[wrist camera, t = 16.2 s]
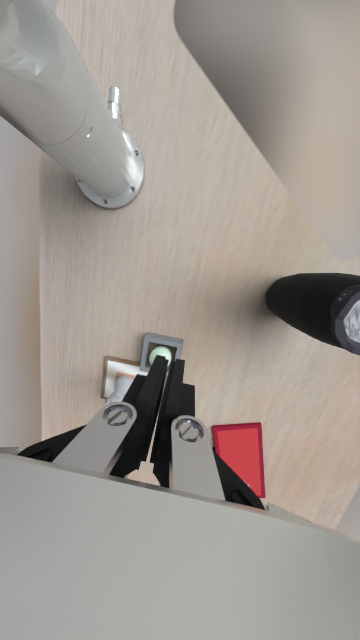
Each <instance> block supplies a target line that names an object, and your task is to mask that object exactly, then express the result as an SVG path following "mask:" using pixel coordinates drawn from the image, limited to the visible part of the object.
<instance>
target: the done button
mask: <svg viewBox="0 0 360 640" xmlns="http://www.w3.org/2000/svg"><path fill="white" fill-rule="evenodd" d="M156 355H160V356H165V357H166V358H165V359H168V360H169V361H168V366H169V364H170V361H171V357H172V351H171V349H170V348H169V347H168V346H167V345H163V344H160V345H157V346H155V347H154V349H153V351H152V352H151V354H150V357H149V361H150V364H151V365H152V363H153V361H154V359H155V357H156Z"/></svg>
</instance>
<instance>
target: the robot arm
mask: <svg viewBox="0 0 360 640" xmlns="http://www.w3.org/2000/svg"><path fill="white" fill-rule="evenodd" d="M108 104H109V108H108V106H107V105H106V103H105V101H104V99H103V97H102V95H101V93H100V91H99V89H98V87H97V85H96V83H95V81H94V79H93V78H92V76H91V74H90V72H89V70H88V68H87V66H86V64H85V62H84V60H83V58H82V56H81V54H80V53H79V51H78V49H77V47H76V45H75V43H74V41H73V40H72V38H71V36H70V34H69V33H68V31H67V29H66V28H65V26H64V25H63V24H62V22H61V21H60V20H59V18H58V17H57V15H56V14H55V13H54V12H53V11H52V9H51V8H50V7H49V6H48V5H47V4H46V3H45V2H44V1H43V0H0V116H1V117H3V118H4V119H5V120H6V121H8V122H9V123H10V124H11V125H13V126H14V127H15V128H16V129H18V130H19V131H20V132H21V133H22V134H24V135H25V136H26V137H27V138H28V139H30V140H31V141H32V142H33V143H35V144H36V145H37V146H38V147H39V148H41V149H42V150H43V151H44V152H46V153H47V154H48V155H49V156H51V157H52V158H53V159H54V160H55V161H57V162H58V163H59V164H60V165H62V166H63V167H64V168H65V169H67V170H68V171H69V172H70V173H72V174H73V175H74V176H75V178H76V181H77V184H78V185H79V187H80V189H81V191H82V192H83V193H84V194H85V196H86V197H88V198H89V199H90V200H91V201H92V202H94V203H95V204H97V205H99V206H101V207H105V208H120V207H122V206H125V205H127V204H128V203H130V202H131V201H132V200H133V199H134V198H135V197H136V196H137V194H138V192H139V191H140V189H141V186H142V183H143V179H144V161H143V157H142V153H141V151H140V149H139V146H138V144H137V143H136V141H135V139H134V138H133V137H132V136H131V134H130V133H129V132H127V131H126V130H125V129H124V128H122V119H121V118H120V111H121V104H122V93H121V91H120V90H119V89H117V88H116V87H110V88H109V98H108ZM137 155H138V156H137ZM133 190H134V192H133ZM106 202H107V204H106ZM165 358H166V357H165V356H160V355H156V357H155V359H154V361H153V363H152V366H151V368H150V370H149V372H148V374H147V376H145V375H140V374H137V375H136V377H135V378H134V380H133V382H132V384H131V385H130V387H129V389H128V391H127V393H126V394H125V396H124V398H123V400H122V402H113V403H110V404H108V405H106V406H104V407H103V408H102V409H101V410H100V411H99V412H98V413H97V414H96V415H95V416H94V418H93V419H92V420H91V421H90V422H89V423H88V424H87V425H84V426H81V427H79V428H76V429H73V430H71V431H68V432H65V433H63V434H60V435H57V436H55V437H52V438H49V439H47V440H44V441H41V442H39V443H36V444H34V445H32V446H30V447H27V448H26V449H24V450H23V451H19V448H18V447H6V448H5V447H3V448H0V640H360V541H358V540H356V539H354V538H352V537H349V536H348V535H346V534H343V533H341V532H338V531H335V530H333V529H330V528H328V527H325V526H322V525H319V524H315V523H313V522H310V521H308V520H306V519H304V518H302V517H300V516H298V515H295V514H293V513H291V512H289V511H287V510H285V509H283V508H280V507H278V506H276V505H274V504H272V503H270V502H268V504H267V505H265V504H263V503H262V502H261V500H260V499H259V497H258V496H257V495H256V494H255V492H254V491H253V490H252V489H251V488H250V487H249V486H248V485H247V484H246V483H245V482H244V481H243V480H242V479H241V478H240V477H239V476H238V475H237V474H236V473H235V472H234V471H233V470H232V469H231V468H230V467H229V466H228V465H227V464H226V463H225V462H224V460H223V459H222V458H221V457H220V456H219V455H218V454H217V453H216V452H215V451H214V450H213V449H212V447H211V443H210V439H209V435H208V431H207V429H206V427H205V425H204V424H203V423H202V422H201V421H200V420H198V419H197V418H195V386H194V385H189V384H184V383H183V374H184V364H185V360H180V359H176V360H175V361H171V365H170V369H169V373H168V377H167V381H166V384H165V388H164V383H165V377H166V372H167V367H168V361H169V360H168V359H165ZM163 388H164V392H163ZM162 393H163V396H162ZM161 399H162V400H161ZM160 404H161V405H160ZM159 408H160V410H159ZM158 412H159V415H158ZM157 416H158V420H157V426H156V431H155V436H154V442H153V447H152V452H151V458H150V463H154V468H153V473H154V475H155V476H156V478H157V479H158V481H159V486H157V485H152V484H148V483H143V482H139V481H134V480H130V479H127V477H128V474H129V473H131V472H132V471H134V470H135V469H137V470H139V467H140V463H141V461H145V462H146V459H147V455H148V451H149V447H150V443H151V439H152V435H153V431H154V427H155V423H156V419H157Z"/></svg>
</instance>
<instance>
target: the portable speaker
mask: <svg viewBox="0 0 360 640" xmlns="http://www.w3.org/2000/svg"><path fill="white" fill-rule="evenodd" d="M266 304H267V306H268V307H269V309H270V310H271V311H272V312H273V313H274V314H275V315H277V316H278V317H279V318H281V319H282V320H284V321H285V322H286V323H287V324H289V325H291V326H292V327H294V328H296V329H298V330H300V331H302V332H304V333H305V334H307V335H309V336H311V337H313V338H315V339H317V340H320V341H322V342H324V343H327V344H330V345H333V346H336V347H340V348H343V349H346V350H347V351H349V352H351V353H354V354H357V355H360V276H357V275H351V274H342V273H304V274H296V275H292V276H287V277H283V278H280V279H279V280H277V281H276V282H275V283H274V284H273V285H272V286H271V288H270V289H269V291H268V292H267V294H266Z"/></svg>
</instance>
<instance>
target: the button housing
mask: <svg viewBox="0 0 360 640" xmlns="http://www.w3.org/2000/svg"><path fill="white" fill-rule="evenodd" d="M151 342H153V343H158V344H163V345H168V346H173V347H177V351H176V356H175V360H176V359H180V356H181V351H182V346H183V339H178V338H173V337H168V336H163V335H158V334H153V333H148V332H147V334H146V335H145V337H144V343H143V350H142V357H141V364H140V371H144V372H149V370H150V368H151V366H152V365H151V364H150V363H149V362H148V355H149V349H150V343H151ZM169 369H170V367H169V366H168V367H167V372H166V376H168V373H169Z"/></svg>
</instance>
